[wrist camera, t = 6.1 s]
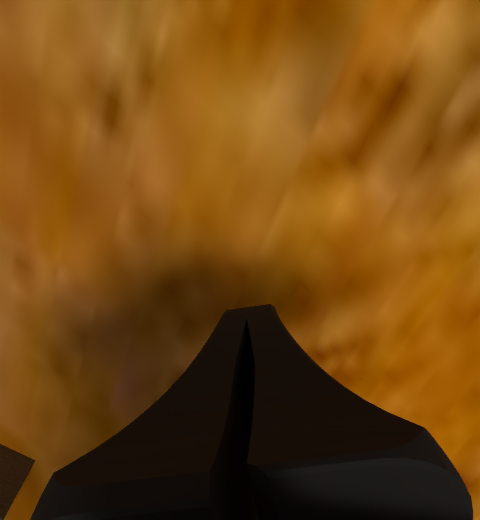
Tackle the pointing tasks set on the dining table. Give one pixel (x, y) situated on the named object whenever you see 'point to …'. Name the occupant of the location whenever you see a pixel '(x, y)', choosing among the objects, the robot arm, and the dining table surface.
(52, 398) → the dining table surface
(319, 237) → the dining table surface
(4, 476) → the press housing
